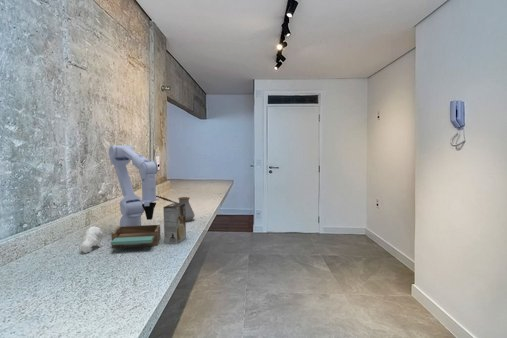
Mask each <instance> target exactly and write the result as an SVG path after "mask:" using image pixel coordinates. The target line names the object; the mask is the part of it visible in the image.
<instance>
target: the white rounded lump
mask: <svg viewBox="0 0 507 338" xmlns="http://www.w3.org/2000/svg"><path fill="white" fill-rule="evenodd" d="M103 233H104V232H103V231H102V229H101V228H100V227H97V226H95V225H93V226H90V227H88V228H87V229H86V231H85V233H84V237H83V238H82V243H81V244H80V248H79V249H80V250H81V251H82V252H83V253H84V254H87V253H88V252H92V250H93V248H92V247H94V246H97V247H98V248H101V247H102V239H103Z"/></svg>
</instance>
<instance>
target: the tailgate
mask: <svg viewBox="0 0 507 338" xmlns="http://www.w3.org/2000/svg"><path fill="white" fill-rule="evenodd" d="M153 239H154V236H144V237H125V238H115V239H114V240H112V239H111V241H110V246H112V245H121V244H124V245H140V243H152V241H153Z"/></svg>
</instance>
